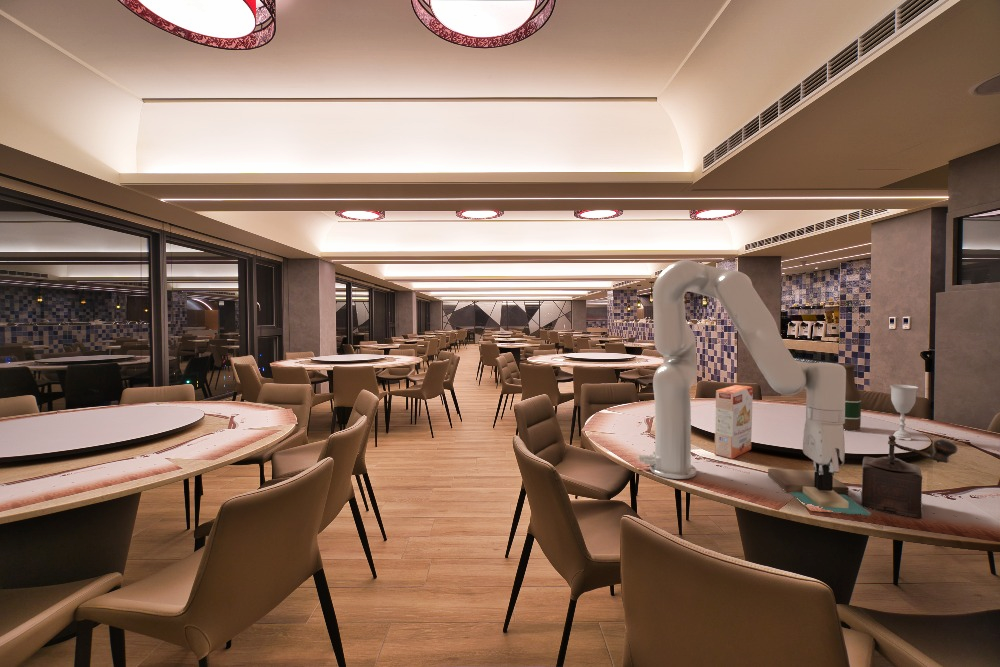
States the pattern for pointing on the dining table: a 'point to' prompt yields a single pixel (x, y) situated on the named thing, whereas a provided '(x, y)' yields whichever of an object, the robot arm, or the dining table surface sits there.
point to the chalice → (903, 404)
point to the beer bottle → (852, 401)
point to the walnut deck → (801, 480)
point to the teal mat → (852, 508)
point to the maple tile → (825, 498)
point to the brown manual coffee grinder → (898, 479)
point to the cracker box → (733, 421)
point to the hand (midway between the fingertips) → (823, 489)
